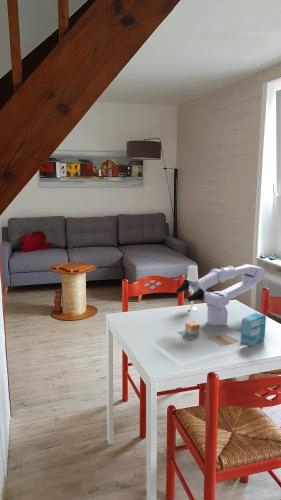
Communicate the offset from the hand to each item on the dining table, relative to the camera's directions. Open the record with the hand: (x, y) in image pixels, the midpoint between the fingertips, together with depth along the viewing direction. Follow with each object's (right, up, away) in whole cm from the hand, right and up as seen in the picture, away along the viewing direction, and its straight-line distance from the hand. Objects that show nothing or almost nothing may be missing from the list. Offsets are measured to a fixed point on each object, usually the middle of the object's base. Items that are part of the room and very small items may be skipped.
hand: (182, 295), depth 187 cm
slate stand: (+4, -19, +1) cm, 19 cm away
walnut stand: (+17, -20, -5) cm, 27 cm away
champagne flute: (+9, -12, +37) cm, 40 cm away
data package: (+30, -20, -5) cm, 37 cm away
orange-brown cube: (+4, -18, +1) cm, 18 cm away
